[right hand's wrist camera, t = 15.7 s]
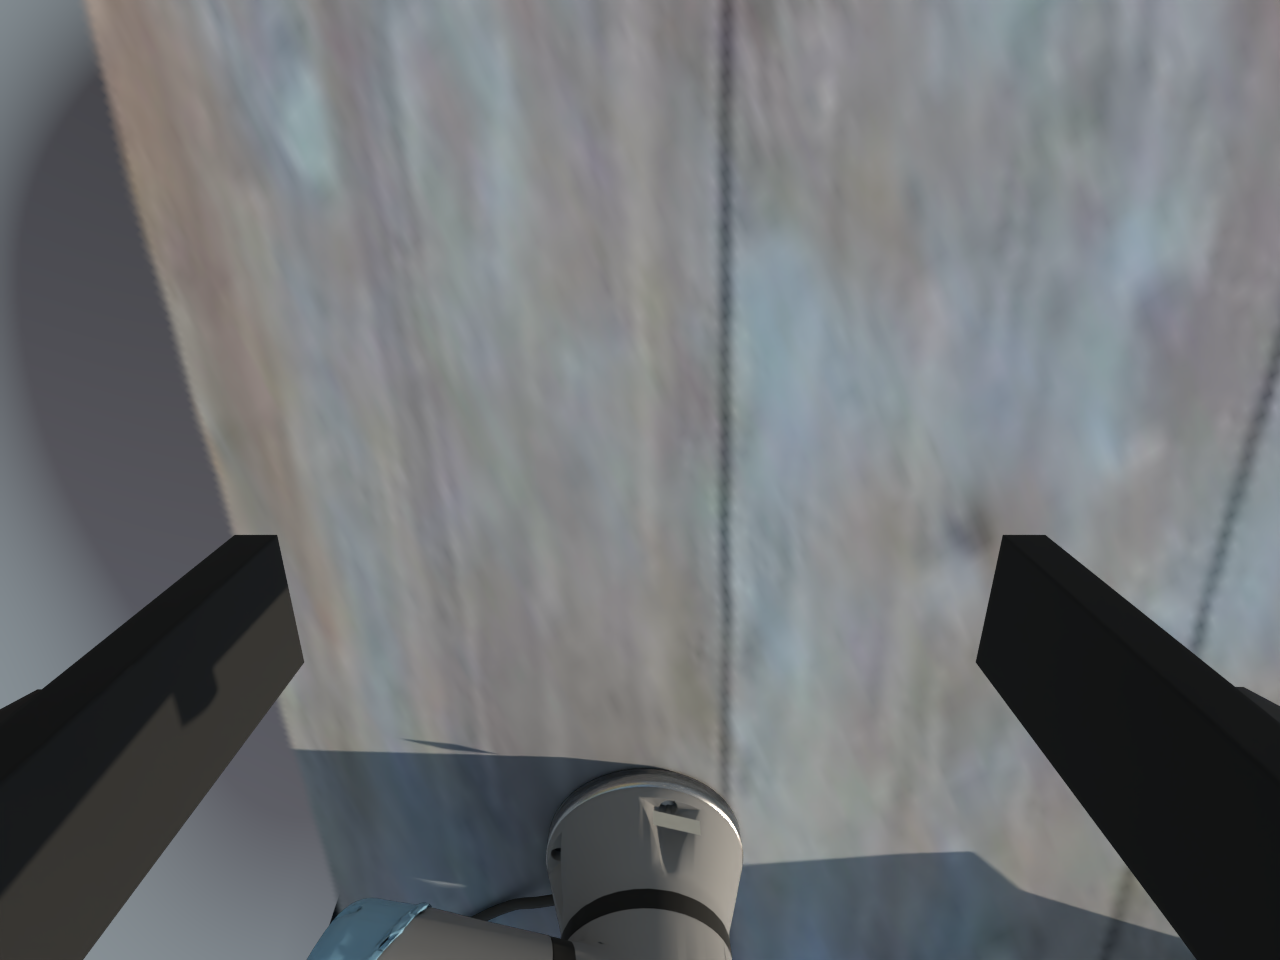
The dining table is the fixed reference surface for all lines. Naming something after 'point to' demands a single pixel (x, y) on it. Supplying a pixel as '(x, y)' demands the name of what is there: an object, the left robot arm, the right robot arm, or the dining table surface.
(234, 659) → the right robot arm
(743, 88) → the dining table surface
